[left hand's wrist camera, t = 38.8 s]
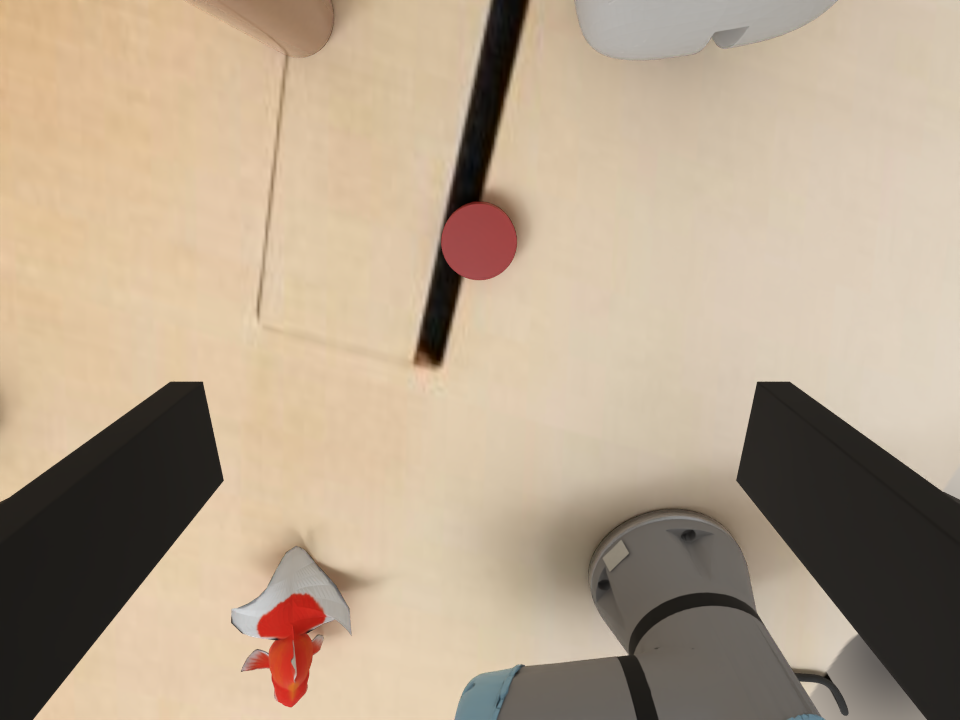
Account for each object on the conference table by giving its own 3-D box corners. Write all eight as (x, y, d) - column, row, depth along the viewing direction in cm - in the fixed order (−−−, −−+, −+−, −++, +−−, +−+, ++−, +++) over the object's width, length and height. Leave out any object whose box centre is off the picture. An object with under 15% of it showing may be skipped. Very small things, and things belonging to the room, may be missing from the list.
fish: (200, 676, 52) (198, 748, 43) (251, 522, 53) (258, 562, 44) (307, 677, 56) (325, 742, 48) (351, 536, 58) (376, 574, 49)
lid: (499, 284, 42) (500, 290, 40) (433, 259, 41) (431, 264, 39) (526, 217, 40) (528, 220, 38) (457, 190, 39) (456, 191, 38)
